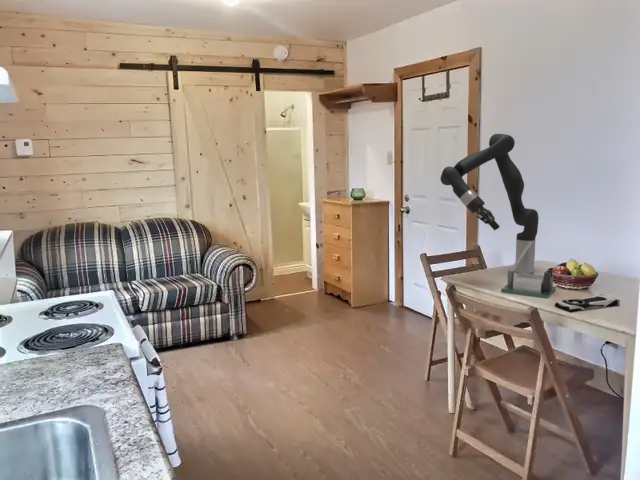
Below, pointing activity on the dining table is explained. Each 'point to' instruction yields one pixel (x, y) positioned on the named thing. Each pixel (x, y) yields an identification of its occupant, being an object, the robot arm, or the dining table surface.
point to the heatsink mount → (530, 284)
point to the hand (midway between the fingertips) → (497, 228)
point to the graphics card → (587, 303)
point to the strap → (520, 257)
